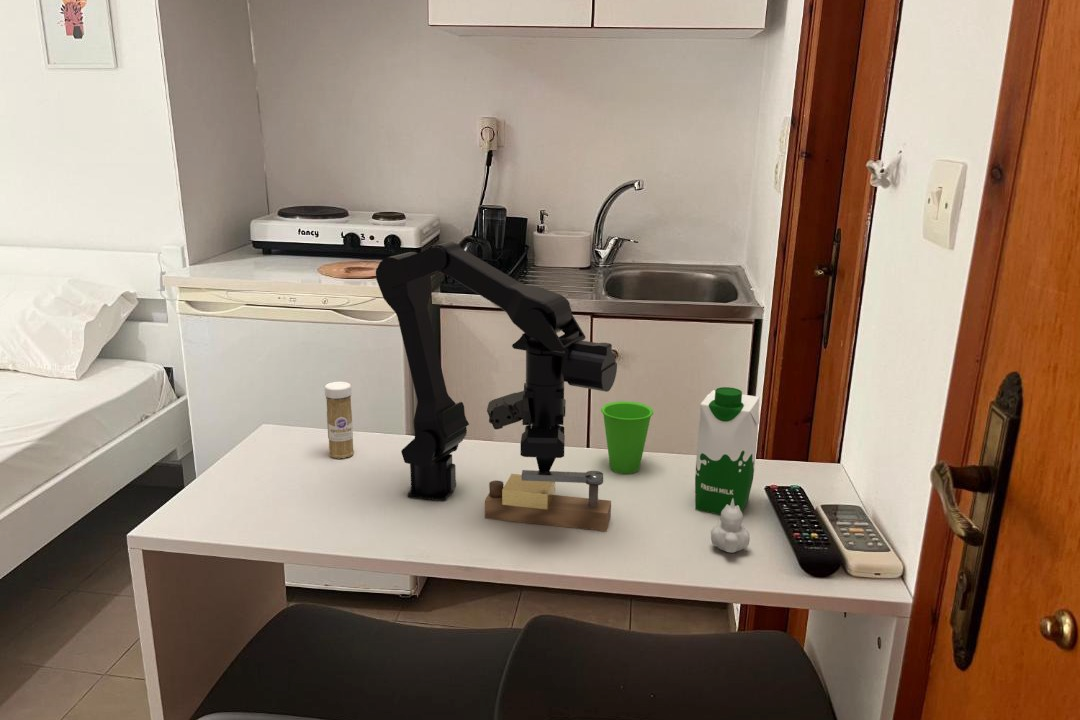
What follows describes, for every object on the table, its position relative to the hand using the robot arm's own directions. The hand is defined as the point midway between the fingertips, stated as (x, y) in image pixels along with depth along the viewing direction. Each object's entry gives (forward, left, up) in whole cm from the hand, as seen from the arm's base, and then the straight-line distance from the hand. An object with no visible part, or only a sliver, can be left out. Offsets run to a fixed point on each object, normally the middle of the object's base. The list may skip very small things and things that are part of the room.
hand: (543, 475), depth 130 cm
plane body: (+1, 0, -7) cm, 7 cm away
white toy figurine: (+28, -4, -7) cm, 29 cm away
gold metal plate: (-2, 0, -4) cm, 4 cm away
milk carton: (+27, +11, -7) cm, 30 cm away
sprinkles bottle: (-41, +16, -7) cm, 44 cm away
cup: (+10, +22, -7) cm, 25 cm away
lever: (+3, -1, 0) cm, 3 cm away
